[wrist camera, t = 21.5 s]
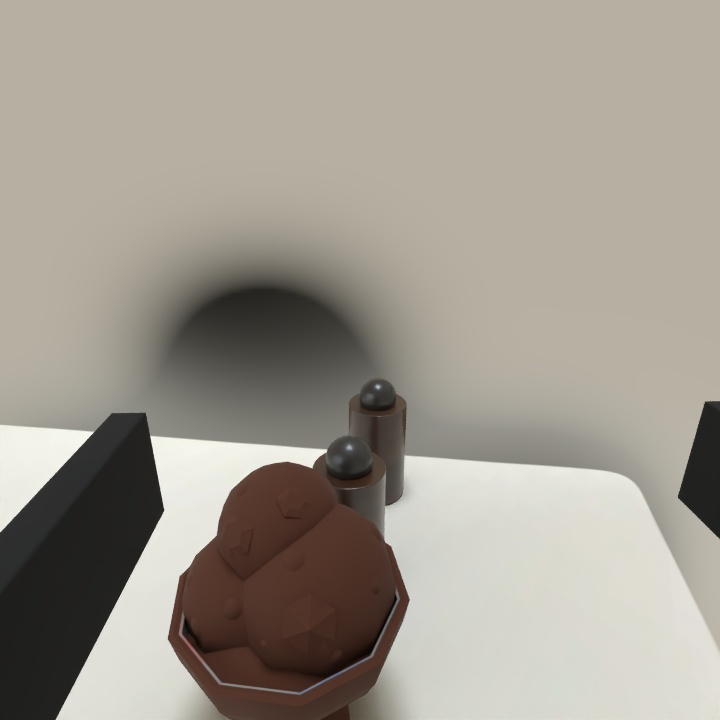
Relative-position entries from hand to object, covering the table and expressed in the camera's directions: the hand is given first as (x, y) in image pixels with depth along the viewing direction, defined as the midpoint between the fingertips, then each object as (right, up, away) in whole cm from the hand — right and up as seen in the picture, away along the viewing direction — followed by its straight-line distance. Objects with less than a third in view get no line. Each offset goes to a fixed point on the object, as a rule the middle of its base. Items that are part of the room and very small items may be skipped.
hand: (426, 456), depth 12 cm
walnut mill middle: (-2, -13, +25) cm, 28 cm away
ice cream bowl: (-5, -17, +15) cm, 23 cm away
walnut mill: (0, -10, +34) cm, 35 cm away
